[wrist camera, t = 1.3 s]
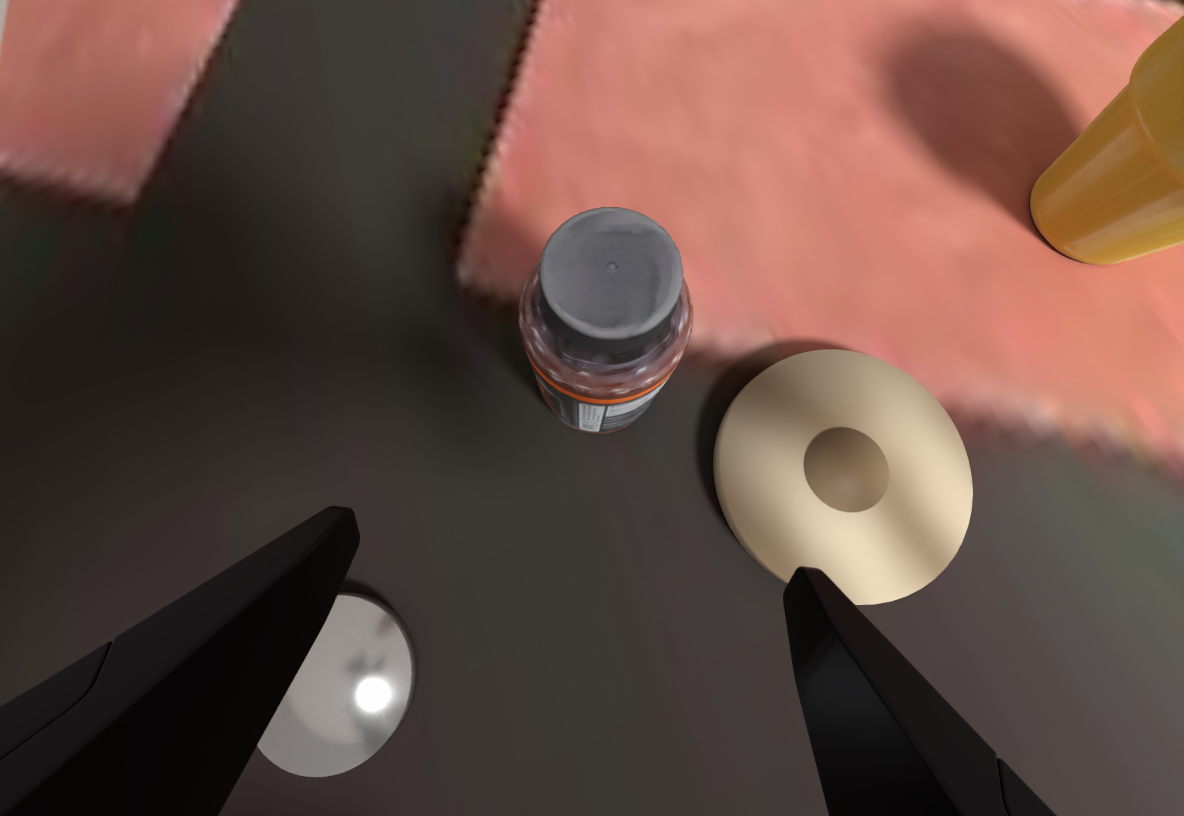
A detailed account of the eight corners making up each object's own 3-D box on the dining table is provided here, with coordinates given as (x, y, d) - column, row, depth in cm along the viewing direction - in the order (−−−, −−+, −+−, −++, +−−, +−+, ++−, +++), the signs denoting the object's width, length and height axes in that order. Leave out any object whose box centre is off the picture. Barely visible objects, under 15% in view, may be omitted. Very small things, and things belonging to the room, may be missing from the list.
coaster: (869, 656, 21) (887, 665, 19) (664, 485, 22) (669, 484, 21) (995, 457, 23) (1019, 454, 22) (801, 313, 24) (812, 303, 23)
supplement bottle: (525, 344, 24) (476, 200, 12) (632, 312, 24) (676, 147, 13) (558, 452, 22) (536, 398, 11) (670, 416, 23) (753, 332, 12)
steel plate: (333, 804, 19) (322, 817, 18) (223, 687, 20) (208, 694, 19) (449, 664, 20) (444, 671, 19) (341, 559, 21) (332, 561, 20)
